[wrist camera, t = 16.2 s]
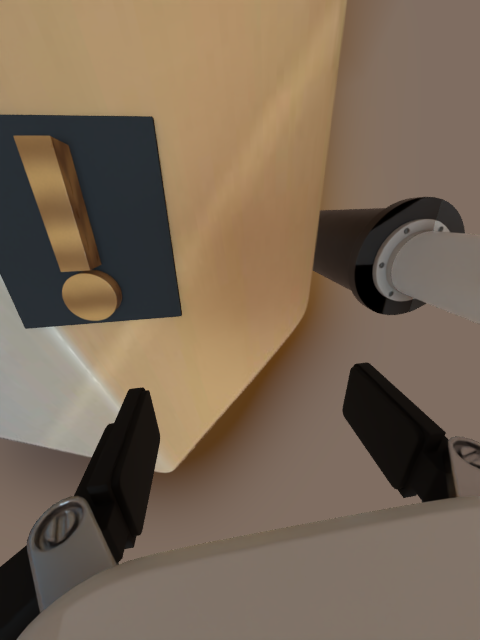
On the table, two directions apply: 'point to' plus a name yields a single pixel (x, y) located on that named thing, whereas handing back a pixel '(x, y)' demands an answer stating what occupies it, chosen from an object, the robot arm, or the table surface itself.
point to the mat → (104, 215)
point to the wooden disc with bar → (68, 226)
